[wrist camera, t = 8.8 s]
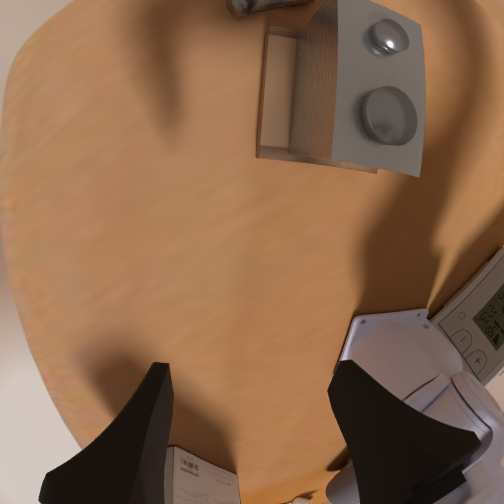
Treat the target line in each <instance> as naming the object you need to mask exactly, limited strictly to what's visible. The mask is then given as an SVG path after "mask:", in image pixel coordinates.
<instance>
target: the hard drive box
mask: <svg viewBox="0 0 504 504" xmlns="http://www.w3.org/2000/svg"><path fill="white" fill-rule="evenodd" d="M164 497H165V504H241V500H240V492H239V484H238V476H237V475H236V474H234V473H231V472H229V471H227V470H225V469H222V468H219V467H217V466H215V465H212V464H210V463H208V462H206V461H204V460H202V459H200V458H198V457H197V456H194V455H192V454H191V453H188V452H186V451H184V450H182V449H180V448H178V447H173V446H172V447H168V448H167V451H166V458H165V473H164Z"/></svg>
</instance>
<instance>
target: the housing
mask: <svg viewBox="0 0 504 504" xmlns="http://www.w3.org/2000/svg"><path fill="white" fill-rule="evenodd" d="M424 127H425V64H424V50H423V39H422V31H421V25H420V24H418V23H416V22H414V21H412V20H411V19H409V18H407V17H405V16H403V15H401V14H399V13H397V12H395V11H392V10H390V9H388V8H386V7H384V6H381V5H379V4H377V3H374V2H372V1H369V0H327V1H326V2H325V3H324V4H323V5H322V7H321V8H320V9H319V10H318V11H317V13H316V14H315V15H314V16H313V17H312V19H311V20H310V21H309V22H308V23H307V25H306V26H305V27H304V28H303V30H302V31H301V32H300V33H299V35H298V36H297V43H296V60H295V76H294V90H293V104H292V116H291V129H290V140H289V151H288V155H297V156H305V157H313V158H320V159H327V160H333V161H339V162H345V163H351V164H357V165H363V166H368V167H373V168H379V169H384V170H388V171H393V172H398V173H402V174H407V175H411V176H415V177H419V178H420V171H421V162H422V153H423V142H424Z"/></svg>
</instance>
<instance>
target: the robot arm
mask: <svg viewBox="0 0 504 504" xmlns="http://www.w3.org/2000/svg"><path fill="white" fill-rule="evenodd" d="M428 312H429V311H428V310H427V309H426V308H424V309H416V310H408V311H400V312H391V313H381V314H371V315H359V316H356V317H355V318H354V319H353V321H352V324H351V327H350V330H349V333H348V336H347V339H346V342H345V345H344V348H343V351H342V354H341V357H340V359H339V362H338V365H337V368H336V370H335V373H334V376H333V378H332V381H331V383H330V385H329V388H328V390H327V391H328V395H329V400H330V403H331V407H332V410H333V413H334V415H335V418H336V420H337V423H338V425H339V427H340V430H341V432H342V434H343V437H344V439H345V442H346V444H347V446H348V449H349V452H350V455H351V459H352V463H353V467H354V471H355V476H356V480H357V486H358V492H359V498H360V504H504V467H503V466H502V465H501V464H500V463H501V461H502V458H503V456H504V412H503V411H502V410H501V408H500V406H499V405H498V403H497V402H496V401H495V399H494V398H493V397H492V396H491V394H490V393H489V392H488V391H487V389H486V388H485V387H484V386H483V385H482V384H481V383H480V382H479V381H478V380H477V379H476V378H475V377H474V376H473V375H472V374H470V373H469V372H468V371H463V365H462V360H461V357H460V355H459V353H458V351H457V349H456V348H455V347H454V346H453V345H452V344H451V343H450V342H449V341H448V340H447V339H446V338H445V337H444V336H443V335H442V334H441V333H440V332H439V331H438V330H437V329H436V328H435V327H434V326H433V325H432V324H431V323H430V322H429V321H428V320H427V319H426V318H427V315H428ZM362 320H363V321H362ZM361 321H362V322H361ZM173 397H174V394H173V387H172V381H171V374H170V367H169V363H159V362H154V363H153V364H152V365H151V367H150V369H149V371H148V372H147V374H146V376H145V377H144V379H143V381H142V382H141V384H140V385H139V387H138V388H137V390H136V391H135V393H134V394H133V396H132V397H131V399H130V400H129V401H128V403H127V404H126V405H125V407H124V408H123V409H122V411H121V412H120V413H119V414H118V416H117V417H116V418H115V419H114V420H113V422H112V423H111V424H110V425H109V426H108V427H107V428H106V429H105V430H104V431H103V432H102V433H101V434H100V435H99V436H98V437H97V438H96V439H95V440H94V441H93V442H92V443H90V444H89V445H88V446H87V447H86V448H84V449H83V450H82V451H81V452H79V453H78V454H77V455H75V456H74V457H72V458H71V459H70V460H68V461H67V462H65V463H64V464H62V465H60V466H58V467H57V468H55V469H54V470H52V471H50V472H48V473H47V474H46V476H45V478H44V480H43V483H42V486H41V490H40V495H39V502H40V503H41V504H165V497H164V473H165V458H166V451H167V445H168V439H169V433H170V427H171V421H172V413H173Z"/></svg>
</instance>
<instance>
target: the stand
mask: <svg viewBox="0 0 504 504" xmlns="http://www.w3.org/2000/svg"><path fill="white" fill-rule="evenodd" d="M301 31H302V30H297V29H292V28H286V27H280V26H274V25H269V28H268V30H267V32H266V37H265V49H264V61H263V74H262V86H261V99H260V111H259V124H258V137H257V150H256V158H261V159H273V160H284V161H294V162H303V163H311V164H319V165H326V166H333V167H340V168H346V169H352V170H358V171H364V172H370V173H375V174H377V168H373V167H368V166H363V165H357V164H351V163H345V162H339V161H333V160H327V159H320V158H313V157H305V156H297V155H288V151H289V140H290V129H291V116H292V104H293V90H294V76H295V60H296V43H297V36H298V35H299V33H300V32H301Z"/></svg>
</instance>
